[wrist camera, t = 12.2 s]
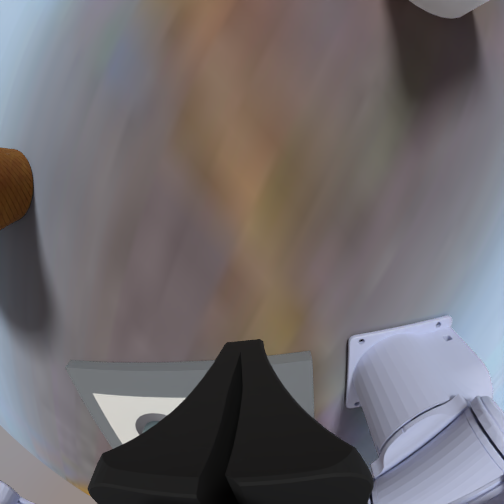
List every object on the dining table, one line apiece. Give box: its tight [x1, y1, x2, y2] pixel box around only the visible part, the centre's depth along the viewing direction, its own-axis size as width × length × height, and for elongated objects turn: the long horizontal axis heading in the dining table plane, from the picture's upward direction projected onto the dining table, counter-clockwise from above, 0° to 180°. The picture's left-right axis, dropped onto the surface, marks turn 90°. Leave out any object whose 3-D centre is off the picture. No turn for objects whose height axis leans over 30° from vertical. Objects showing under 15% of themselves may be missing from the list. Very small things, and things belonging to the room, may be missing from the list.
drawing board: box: [65, 351, 314, 449], centre depth 25 cm, size 22×18×3 cm
